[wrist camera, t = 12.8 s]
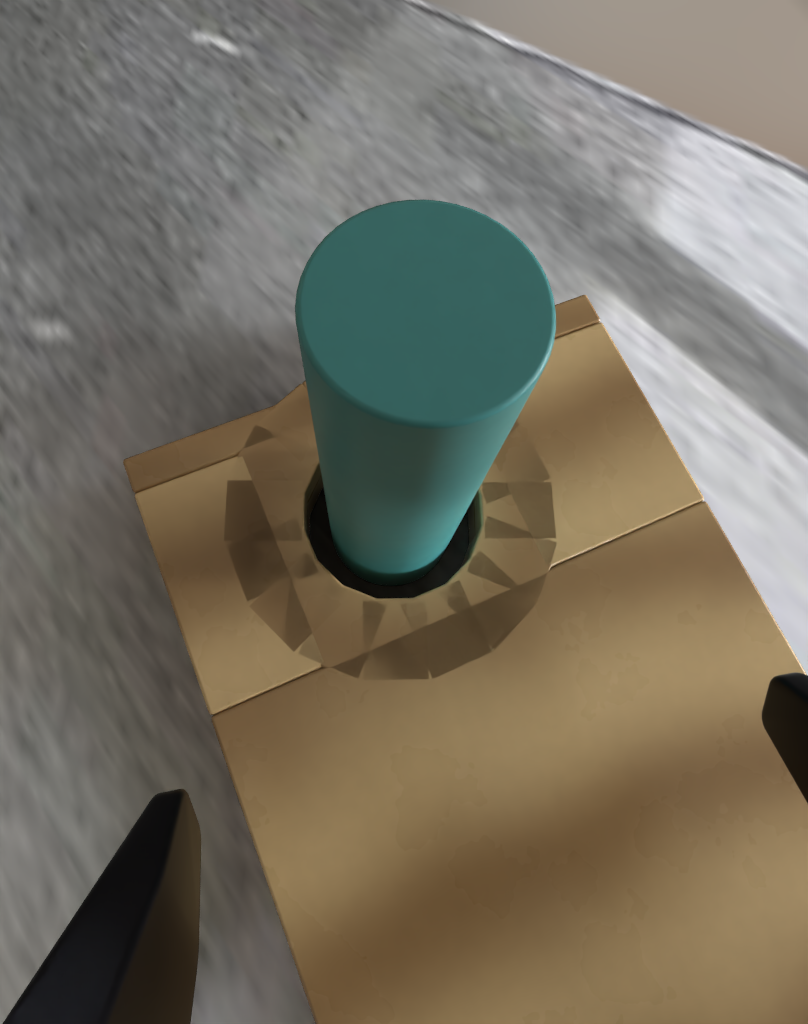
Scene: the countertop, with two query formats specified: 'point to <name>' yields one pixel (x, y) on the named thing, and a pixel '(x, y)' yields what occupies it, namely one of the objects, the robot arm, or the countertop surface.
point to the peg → (416, 372)
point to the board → (501, 724)
